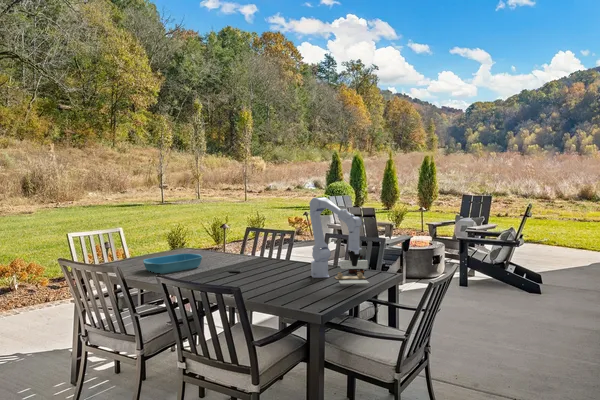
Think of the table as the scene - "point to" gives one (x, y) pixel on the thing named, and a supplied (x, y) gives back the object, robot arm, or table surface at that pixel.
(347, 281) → the mat
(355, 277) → the rack
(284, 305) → the table surface
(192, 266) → the casserole dish
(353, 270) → the binoculars
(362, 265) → the rail
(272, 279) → the table surface
